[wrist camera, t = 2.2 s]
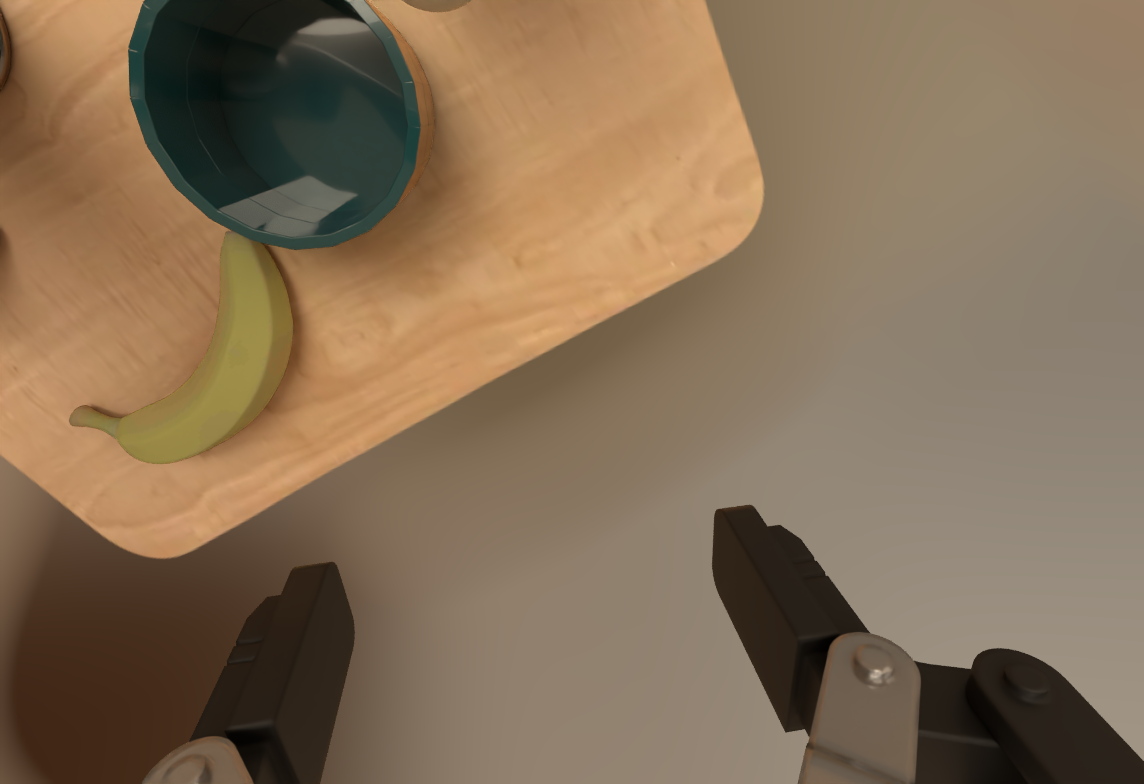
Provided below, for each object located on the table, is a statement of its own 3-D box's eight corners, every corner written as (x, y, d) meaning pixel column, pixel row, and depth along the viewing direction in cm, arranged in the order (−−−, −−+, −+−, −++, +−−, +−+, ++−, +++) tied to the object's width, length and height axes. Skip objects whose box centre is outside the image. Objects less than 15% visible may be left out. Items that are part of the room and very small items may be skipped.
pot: (249, 227, 42) (184, 259, 33) (181, -9, 36) (79, -48, 27) (448, 211, 43) (438, 238, 34) (415, -19, 37) (392, -59, 28)
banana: (314, 414, 41) (80, 499, 44) (350, 395, 46) (139, 472, 49) (223, 221, 38) (-20, 326, 41) (272, 224, 44) (54, 317, 47)
